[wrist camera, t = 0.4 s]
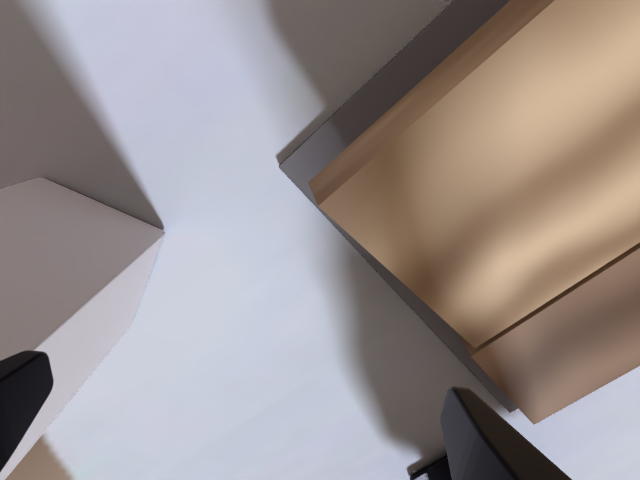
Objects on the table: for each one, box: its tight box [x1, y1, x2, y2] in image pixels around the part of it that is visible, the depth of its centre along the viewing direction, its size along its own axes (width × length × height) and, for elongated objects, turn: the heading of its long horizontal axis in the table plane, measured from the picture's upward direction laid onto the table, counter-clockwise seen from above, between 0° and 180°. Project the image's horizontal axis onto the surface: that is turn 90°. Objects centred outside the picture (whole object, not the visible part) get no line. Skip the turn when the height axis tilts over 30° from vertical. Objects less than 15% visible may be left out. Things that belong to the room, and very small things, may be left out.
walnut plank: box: [460, 243, 640, 424], centre depth 21 cm, size 7×18×2 cm, turn 132°
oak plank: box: [308, 0, 640, 348], centre depth 16 cm, size 14×17×2 cm
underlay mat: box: [279, 0, 518, 412], centre depth 20 cm, size 22×20×1 cm
